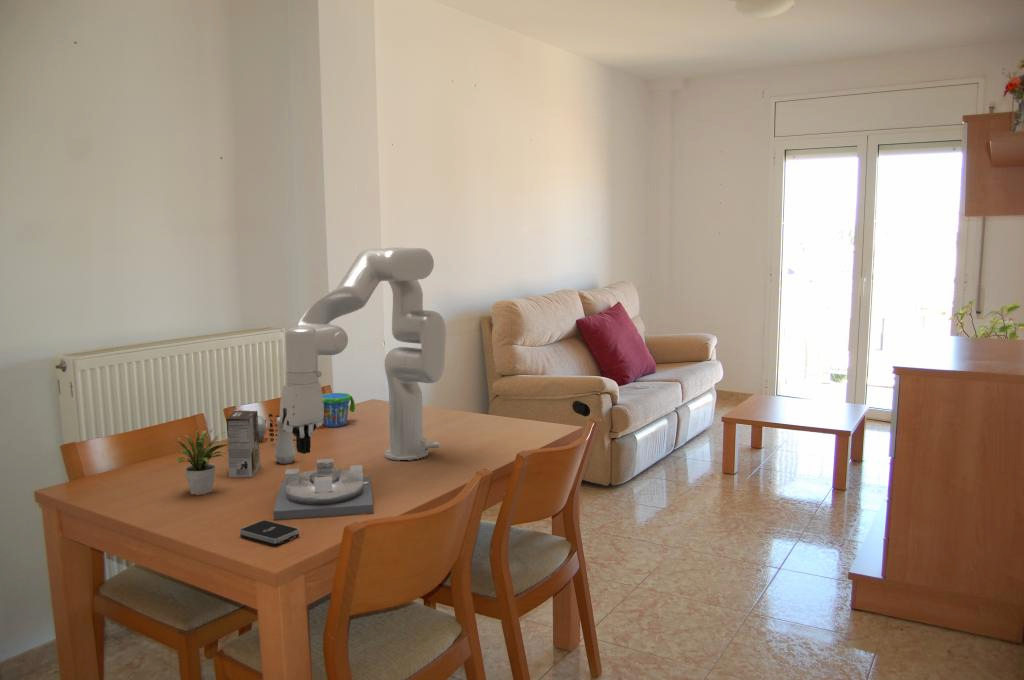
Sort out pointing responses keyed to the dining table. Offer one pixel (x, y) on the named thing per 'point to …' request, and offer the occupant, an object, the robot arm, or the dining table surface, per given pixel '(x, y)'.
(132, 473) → the dining table surface
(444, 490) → the dining table surface
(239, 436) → the coffee box
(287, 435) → the salt shaker
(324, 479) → the domed turntable base
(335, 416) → the snack cup
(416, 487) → the dining table surface
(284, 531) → the external hard drive
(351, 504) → the housing plate
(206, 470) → the house plant
